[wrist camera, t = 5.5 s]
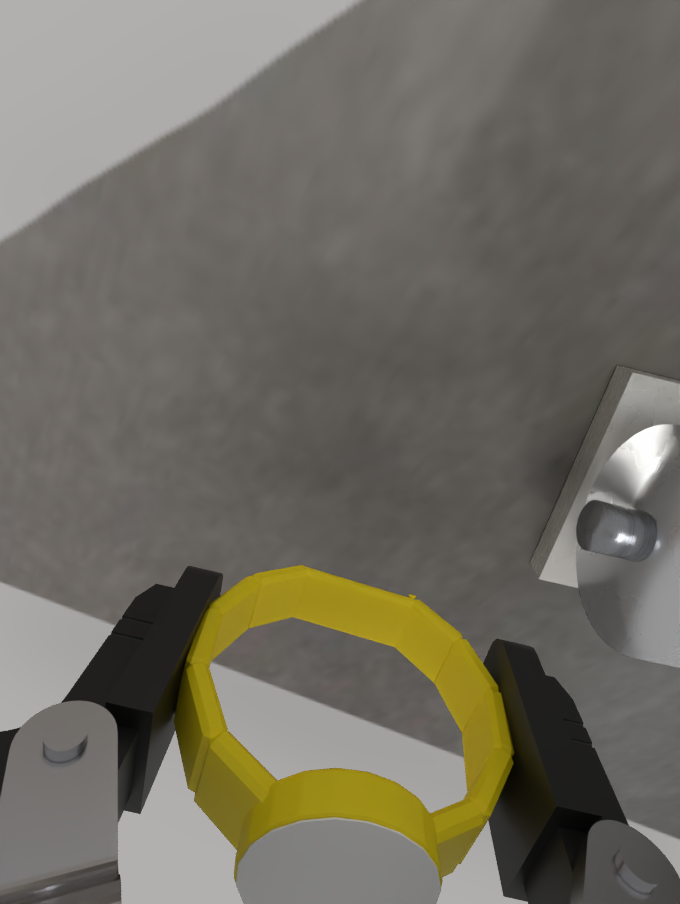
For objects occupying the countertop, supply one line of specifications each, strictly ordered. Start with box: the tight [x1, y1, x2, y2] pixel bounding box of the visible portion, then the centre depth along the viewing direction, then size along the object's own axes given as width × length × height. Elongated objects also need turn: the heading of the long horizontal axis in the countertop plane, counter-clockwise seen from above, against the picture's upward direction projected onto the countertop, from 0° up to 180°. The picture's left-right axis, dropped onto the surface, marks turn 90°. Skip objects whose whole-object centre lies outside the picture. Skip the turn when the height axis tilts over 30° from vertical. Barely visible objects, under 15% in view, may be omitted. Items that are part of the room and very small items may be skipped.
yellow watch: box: [174, 565, 514, 904], centre depth 9 cm, size 6×3×6 cm, turn 73°
